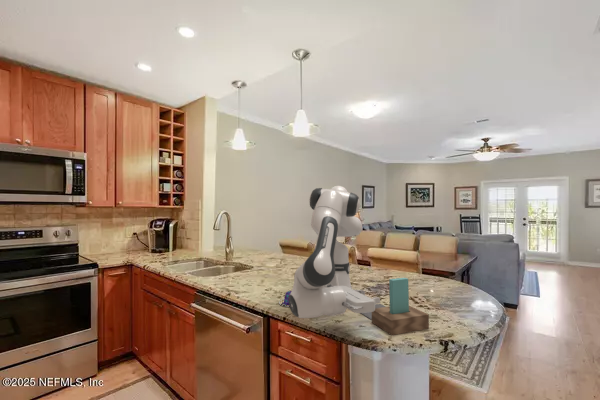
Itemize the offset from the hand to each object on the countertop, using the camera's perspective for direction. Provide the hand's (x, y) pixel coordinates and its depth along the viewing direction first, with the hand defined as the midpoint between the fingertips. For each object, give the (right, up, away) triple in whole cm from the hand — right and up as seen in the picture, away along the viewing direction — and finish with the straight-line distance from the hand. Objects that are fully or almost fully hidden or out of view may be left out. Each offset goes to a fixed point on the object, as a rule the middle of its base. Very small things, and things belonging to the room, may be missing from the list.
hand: (371, 296), depth 103 cm
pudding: (-29, -14, +30) cm, 44 cm away
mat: (+7, -13, +18) cm, 23 cm away
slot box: (+12, -12, +4) cm, 17 cm away
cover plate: (+12, -12, +4) cm, 17 cm away
